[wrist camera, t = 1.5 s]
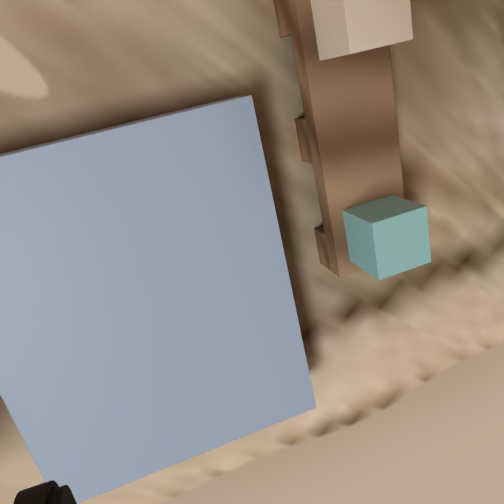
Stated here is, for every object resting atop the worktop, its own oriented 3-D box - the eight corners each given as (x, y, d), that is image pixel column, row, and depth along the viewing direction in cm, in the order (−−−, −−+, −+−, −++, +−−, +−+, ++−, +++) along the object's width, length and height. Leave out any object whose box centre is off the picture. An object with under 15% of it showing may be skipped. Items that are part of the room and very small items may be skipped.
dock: (-80, 173, 27) (-110, 183, 24) (235, 96, 31) (251, 95, 27) (65, 469, 36) (59, 510, 32) (297, 379, 40) (316, 407, 36)
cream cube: (308, -10, 27) (339, -28, 23) (368, -22, 28) (406, -42, 24) (319, 60, 29) (350, 54, 25) (375, 47, 29) (413, 39, 26)
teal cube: (342, 210, 32) (371, 223, 28) (391, 194, 33) (426, 206, 29) (350, 261, 34) (379, 280, 30) (397, 245, 34) (431, 261, 31)
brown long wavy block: (271, -12, 30) (290, -26, 27) (352, -28, 31) (380, -44, 28) (320, 262, 37) (339, 277, 34) (384, 241, 38) (409, 253, 35)
